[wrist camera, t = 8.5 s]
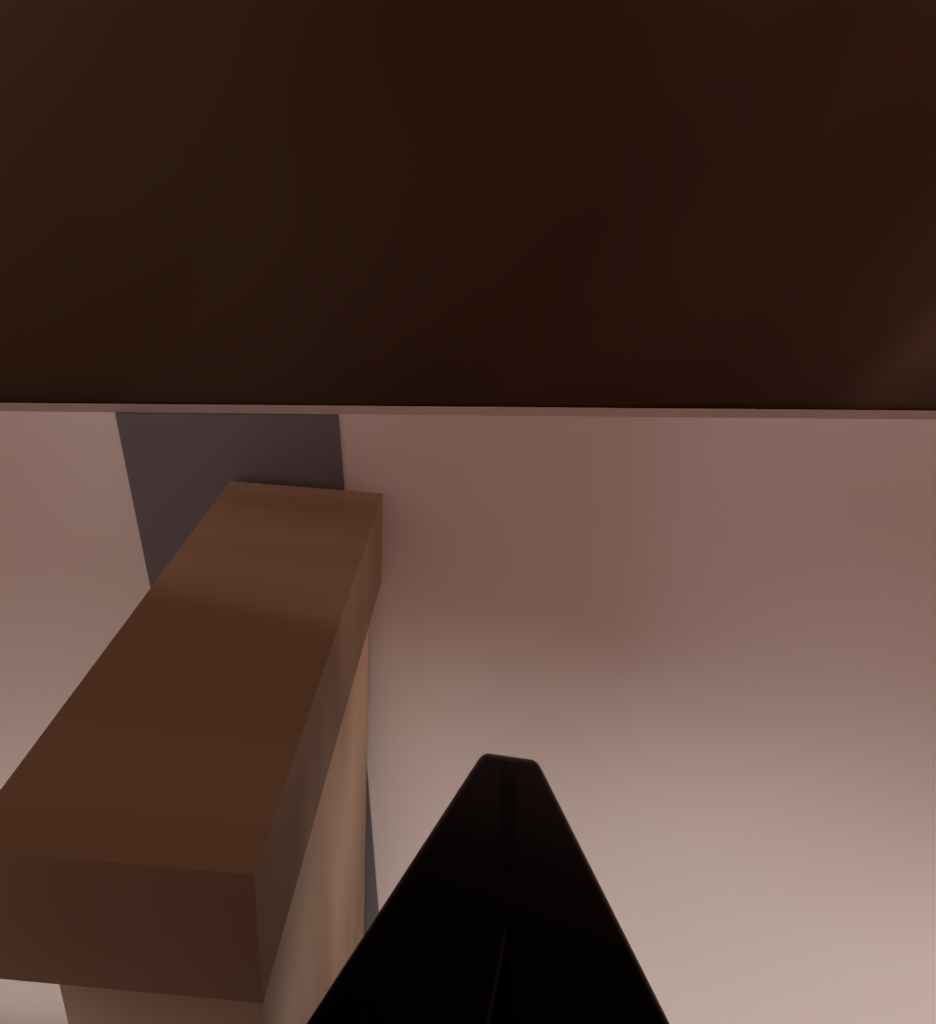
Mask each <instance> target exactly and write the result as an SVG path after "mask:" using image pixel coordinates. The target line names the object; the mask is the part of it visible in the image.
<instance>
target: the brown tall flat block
mask: <svg viewBox="0 0 936 1024" xmlns="http://www.w3.org/2000/svg"><path fill="white" fill-rule="evenodd" d="M382 527H383V493H370V492H358V491H345V490H333V489H321V488H308V487H296V486H283V485H271V484H259V483H246V482H234V481H230V482H229V484H228V485H227V486H226V488H225V489H224V490H223V492H222V493H221V494H220V496H219V497H218V498H217V500H216V501H215V502H214V504H213V505H212V506H211V508H210V509H209V510H208V512H207V513H206V514H205V516H204V517H203V518H202V520H201V521H200V522H199V524H198V525H197V526H196V528H195V529H194V531H193V532H192V533H191V535H190V536H189V537H188V539H187V540H186V541H185V543H184V544H183V545H182V547H181V548H180V549H179V551H178V552H177V553H176V555H175V556H174V557H173V559H172V560H171V561H170V563H169V564H168V565H167V567H166V568H165V569H164V571H163V572H162V573H161V575H160V576H159V578H158V579H157V580H156V582H155V583H154V584H153V586H152V587H151V588H150V590H149V591H148V592H147V594H146V595H145V596H144V598H143V599H142V600H141V602H140V603H139V604H138V606H137V607H136V608H135V610H134V611H133V612H132V614H131V615H130V616H129V618H128V619H127V620H126V622H125V623H124V625H123V626H122V627H121V629H120V630H119V631H118V633H117V634H116V635H115V637H114V638H113V639H112V641H111V642H110V643H109V645H108V646H107V647H106V649H105V650H104V651H103V653H102V654H101V655H100V657H99V658H98V659H97V661H96V662H95V663H94V665H93V666H92V667H91V669H90V670H89V672H88V673H87V674H86V676H85V677H84V678H83V680H82V681H81V682H80V684H79V685H78V686H77V688H76V689H75V690H74V692H73V693H72V694H71V696H70V697H69V698H68V700H67V701H66V702H65V704H64V705H63V706H62V708H61V709H60V710H59V712H58V713H57V714H56V716H55V717H54V718H53V720H52V721H51V723H50V724H49V725H48V727H47V728H46V729H45V731H44V732H43V733H42V735H41V736H40V737H39V739H38V740H37V741H36V743H35V744H34V745H33V747H32V748H31V749H30V751H29V752H28V753H27V755H26V756H25V757H24V759H23V760H22V761H21V763H20V764H19V765H18V767H17V768H16V770H15V771H14V772H13V774H12V775H11V776H10V778H9V779H8V780H7V782H6V783H5V784H4V786H3V787H2V788H1V790H0V979H7V980H17V981H28V982H39V983H50V984H59V986H60V990H61V994H62V999H63V1003H64V1007H65V1012H66V1016H67V1020H68V1024H307V1022H308V1021H309V1019H310V1018H311V1016H312V1014H313V1013H314V1011H315V1010H316V1008H317V1007H318V1005H319V1004H320V1002H321V1001H322V999H323V998H324V996H325V994H326V993H327V991H328V990H329V988H330V987H331V985H332V984H333V982H334V981H335V979H336V978H337V976H338V974H339V973H340V971H341V970H342V968H343V967H344V965H345V964H346V962H347V961H348V959H349V958H350V956H351V954H352V953H353V951H354V950H355V948H356V947H357V945H358V944H359V942H360V941H361V939H362V938H363V936H364V910H365V840H366V769H367V699H368V628H369V624H370V620H371V617H372V613H373V610H374V606H375V603H376V599H377V595H378V592H379V588H380V585H381V573H382Z"/></svg>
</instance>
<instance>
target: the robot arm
mask: <svg viewBox="0 0 936 1024" xmlns="http://www.w3.org/2000/svg"><path fill="white" fill-rule="evenodd" d="M307 1024H670V1023H669V1021H668V1019H667V1017H666V1015H665V1013H664V1011H663V1009H662V1007H661V1005H660V1003H659V1001H658V999H657V997H656V995H655V993H654V991H653V989H652V987H651V985H650V984H649V982H648V980H647V978H646V976H645V974H644V972H643V970H642V968H641V966H640V964H639V962H638V960H637V958H636V956H635V954H634V952H633V950H632V948H631V946H630V944H629V942H628V940H627V938H626V936H625V934H624V932H623V930H622V928H621V926H620V924H619V922H618V920H617V918H616V916H615V914H614V912H613V910H612V908H611V906H610V904H609V902H608V900H607V898H606V896H605V894H604V892H603V890H602V888H601V886H600V884H599V882H598V880H597V878H596V876H595V874H594V872H593V870H592V868H591V866H590V864H589V862H588V860H587V858H586V856H585V854H584V852H583V850H582V848H581V846H580V844H579V842H578V840H577V839H576V837H575V835H574V833H573V831H572V829H571V827H570V825H569V823H568V821H567V819H566V817H565V815H564V813H563V811H562V809H561V807H560V805H559V803H558V801H557V799H556V797H555V795H554V793H553V791H552V789H551V787H550V785H549V783H548V781H547V779H546V777H545V775H544V773H543V771H542V769H541V767H540V766H539V764H538V763H537V762H536V761H534V760H531V759H525V758H518V757H511V756H504V755H497V754H490V753H486V754H483V755H482V756H481V757H480V758H479V759H478V761H477V762H476V764H475V765H474V767H473V768H472V770H471V771H470V773H469V774H468V776H467V778H466V779H465V781H464V782H463V784H462V785H461V787H460V788H459V790H458V791H457V793H456V794H455V796H454V798H453V799H452V801H451V802H450V804H449V805H448V807H447V808H446V810H445V811H444V813H443V814H442V816H441V818H440V819H439V821H438V822H437V824H436V825H435V827H434V828H433V830H432V831H431V833H430V834H429V836H428V838H427V839H426V841H425V842H424V844H423V845H422V847H421V848H420V850H419V851H418V853H417V854H416V856H415V858H414V859H413V861H412V862H411V864H410V865H409V867H408V868H407V870H406V871H405V873H404V874H403V876H402V878H401V879H400V881H399V882H398V884H397V885H396V887H395V888H394V890H393V891H392V893H391V894H390V896H389V898H388V899H387V901H386V902H385V904H384V905H383V907H382V908H381V910H380V911H379V913H378V914H377V916H376V918H375V919H374V921H373V922H372V924H371V925H370V927H369V928H368V930H367V931H366V933H365V934H364V936H363V938H362V939H361V941H360V942H359V944H358V945H357V947H356V948H355V950H354V951H353V953H352V954H351V956H350V958H349V959H348V961H347V962H346V964H345V965H344V967H343V968H342V970H341V971H340V973H339V974H338V976H337V978H336V979H335V981H334V982H333V984H332V985H331V987H330V988H329V990H328V991H327V993H326V994H325V996H324V998H323V999H322V1001H321V1002H320V1004H319V1005H318V1007H317V1008H316V1010H315V1011H314V1013H313V1014H312V1016H311V1018H310V1019H309V1021H308V1022H307Z"/></svg>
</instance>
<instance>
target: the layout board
mask: <svg viewBox="0 0 936 1024" xmlns="http://www.w3.org/2000/svg"><path fill="white" fill-rule="evenodd" d="M230 481H234V482H246V483H259V484H271V485H283V486H296V487H308V488H321V489H333V490H345V491H358V492H370V493H383V527H382V573H381V585H380V588H379V592H378V595H377V599H376V603H375V606H374V610H373V613H372V617H371V620H370V624H369V628H368V699H367V769H366V840H365V910H364V934H365V933H366V931H367V930H368V928H369V927H370V925H371V924H372V922H373V921H374V919H375V918H376V916H377V914H378V913H379V911H380V910H381V908H382V907H383V905H384V904H385V902H386V901H387V899H388V898H389V896H390V894H391V893H392V891H393V890H394V888H395V887H396V885H397V884H398V882H399V881H400V879H401V878H402V876H403V874H404V873H405V871H406V870H407V868H408V867H409V865H410V864H411V862H412V861H413V859H414V858H415V856H416V854H417V853H418V851H419V850H420V848H421V847H422V845H423V844H424V842H425V841H426V839H427V838H428V836H429V834H430V833H431V831H432V830H433V828H434V827H435V825H436V824H437V822H438V821H439V819H440V818H441V816H442V814H443V813H444V811H445V810H446V808H447V807H448V805H449V804H450V802H451V801H452V799H453V798H454V796H455V794H456V793H457V791H458V790H459V788H460V787H461V785H462V784H463V782H464V781H465V779H466V778H467V776H468V774H469V773H470V771H471V770H472V768H473V767H474V765H475V764H476V762H477V761H478V759H479V758H480V757H481V756H482V755H483V754H486V753H490V754H497V755H504V756H511V757H518V758H525V759H531V760H534V761H536V762H537V763H538V764H539V766H540V767H541V769H542V771H543V773H544V775H545V777H546V779H547V781H548V783H549V785H550V787H551V789H552V791H553V793H554V795H555V797H556V799H557V801H558V803H559V805H560V807H561V809H562V811H563V813H564V815H565V817H566V819H567V821H568V823H569V825H570V827H571V829H572V831H573V833H574V835H575V837H576V839H577V840H578V842H579V844H580V846H581V848H582V850H583V852H584V854H585V856H586V858H587V860H588V862H589V864H590V866H591V868H592V870H593V872H594V874H595V876H596V878H597V880H598V882H599V884H600V886H601V888H602V890H603V892H604V894H605V896H606V898H607V900H608V902H609V904H610V906H611V908H612V910H613V912H614V914H615V916H616V918H617V920H618V922H619V924H620V926H621V928H622V930H623V932H624V934H625V936H626V938H627V940H628V942H629V944H630V946H631V948H632V950H633V952H634V954H635V956H636V958H637V960H638V962H639V964H640V966H641V968H642V970H643V972H644V974H645V976H646V978H647V980H648V982H649V984H650V985H651V987H652V989H653V991H654V993H655V995H656V997H657V999H658V1001H659V1003H660V1005H661V1007H662V1009H663V1011H664V1013H665V1015H666V1017H667V1019H668V1021H669V1023H670V1024H936V411H925V410H805V409H685V408H565V407H445V406H325V405H205V404H85V403H0V790H1V788H2V787H3V786H4V784H5V783H6V782H7V780H8V779H9V778H10V776H11V775H12V774H13V772H14V771H15V770H16V768H17V767H18V765H19V764H20V763H21V761H22V760H23V759H24V757H25V756H26V755H27V753H28V752H29V751H30V749H31V748H32V747H33V745H34V744H35V743H36V741H37V740H38V739H39V737H40V736H41V735H42V733H43V732H44V731H45V729H46V728H47V727H48V725H49V724H50V723H51V721H52V720H53V718H54V717H55V716H56V714H57V713H58V712H59V710H60V709H61V708H62V706H63V705H64V704H65V702H66V701H67V700H68V698H69V697H70V696H71V694H72V693H73V692H74V690H75V689H76V688H77V686H78V685H79V684H80V682H81V681H82V680H83V678H84V677H85V676H86V674H87V673H88V672H89V670H90V669H91V667H92V666H93V665H94V663H95V662H96V661H97V659H98V658H99V657H100V655H101V654H102V653H103V651H104V650H105V649H106V647H107V646H108V645H109V643H110V642H111V641H112V639H113V638H114V637H115V635H116V634H117V633H118V631H119V630H120V629H121V627H122V626H123V625H124V623H125V622H126V620H127V619H128V618H129V616H130V615H131V614H132V612H133V611H134V610H135V608H136V607H137V606H138V604H139V603H140V602H141V600H142V599H143V598H144V596H145V595H146V594H147V592H148V591H149V590H150V588H151V587H152V586H153V584H154V583H155V582H156V580H157V579H158V578H159V576H160V575H161V573H162V572H163V571H164V569H165V568H166V567H167V565H168V564H169V563H170V561H171V560H172V559H173V557H174V556H175V555H176V553H177V552H178V551H179V549H180V548H181V547H182V545H183V544H184V543H185V541H186V540H187V539H188V537H189V536H190V535H191V533H192V532H193V531H194V529H195V528H196V526H197V525H198V524H199V522H200V521H201V520H202V518H203V517H204V516H205V514H206V513H207V512H208V510H209V509H210V508H211V506H212V505H213V504H214V502H215V501H216V500H217V498H218V497H219V496H220V494H221V493H222V492H223V490H224V489H225V488H226V486H227V485H228V484H229V482H230ZM0 1024H68V1020H67V1016H66V1012H65V1007H64V1003H63V999H62V994H61V990H60V986H59V984H50V983H39V982H28V981H17V980H7V979H0Z"/></svg>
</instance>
